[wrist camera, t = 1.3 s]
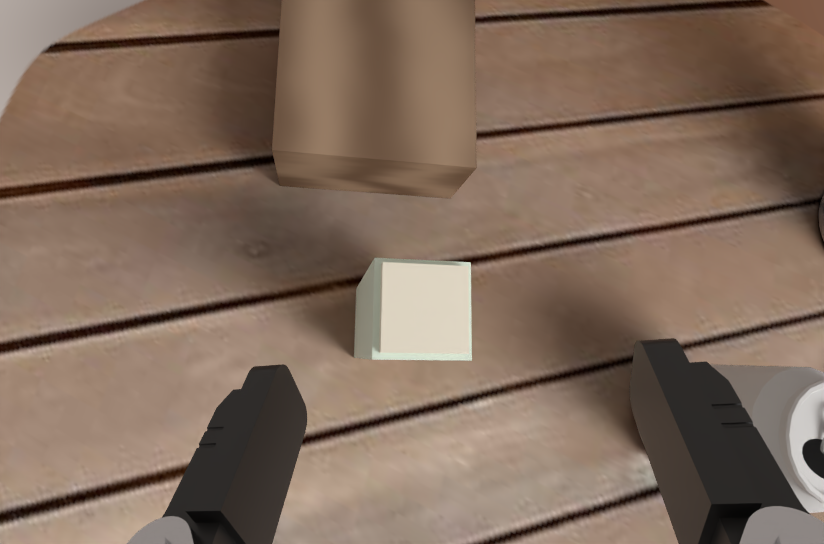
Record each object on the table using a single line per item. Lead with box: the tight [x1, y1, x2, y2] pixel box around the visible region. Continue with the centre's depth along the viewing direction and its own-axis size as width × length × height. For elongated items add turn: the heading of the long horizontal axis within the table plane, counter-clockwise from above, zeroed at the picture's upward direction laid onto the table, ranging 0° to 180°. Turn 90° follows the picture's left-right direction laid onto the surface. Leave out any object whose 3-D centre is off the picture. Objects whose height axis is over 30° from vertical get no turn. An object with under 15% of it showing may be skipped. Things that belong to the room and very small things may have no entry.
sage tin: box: [354, 258, 472, 361], centre depth 27 cm, size 5×5×12 cm
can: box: [637, 365, 824, 513], centre depth 30 cm, size 8×8×12 cm
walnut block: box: [272, 0, 477, 198], centre depth 32 cm, size 12×12×6 cm
